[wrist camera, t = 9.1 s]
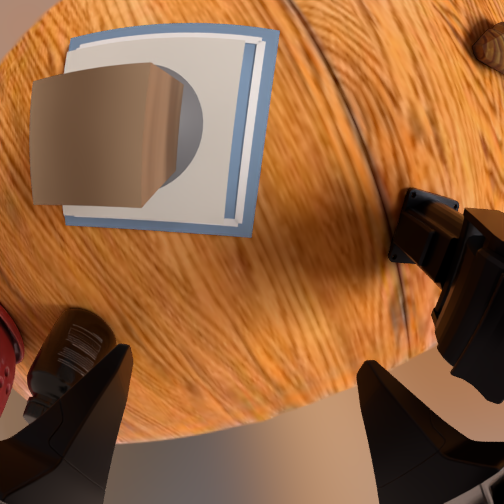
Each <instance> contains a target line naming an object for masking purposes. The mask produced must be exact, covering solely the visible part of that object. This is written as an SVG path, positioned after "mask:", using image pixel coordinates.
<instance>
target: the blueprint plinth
mask: <svg viewBox="0 0 504 504" xmlns="http://www.w3.org/2000/svg"><path fill="white" fill-rule="evenodd" d="M279 33H280V31H278V30H272V29H265V28H258V27H250V26H241V25H229V24H212V23H172V24H154V25H143V26H134V27H126V28H119V29H113V30H107V31H101V32H96V33H92V34H87V35H83V36H78V37H74V38H71V41H70V46H69V51H68V52H67V57H66V63H65V69H64V74H65V73H69V72H74V71H80V70H85V69H91V68H98V67H105V66H113V65H122V64H133V63H147V62H151V63H153V64H154V65H156V66H157V67H159V68H160V69H162V70H163V71H165V72H166V73H168V74H169V75H171V76H172V77H174V78H175V79H177V80H178V81H179V82H181V83H182V84H184V88H183V96H182V105H181V114H180V124H179V135H178V147H177V161H176V171H175V172H174V173H173V174H172V175H171V176H170V177H169V179H168V180H167V181H166V182H165V183H164V184H163V185H162V186H161V187H160V188H159V189H158V190H157V191H156V192H155V194H154V195H153V196H152V197H151V198H150V199H149V200H148V201H147V202H146V204H145V205H144V206H143V207H142V208H128V207H105V206H75V205H62V206H63V214H64V215H65V223H66V225H71V226H89V227H106V228H123V229H138V230H154V231H168V232H183V233H196V234H210V235H223V236H236V237H249V238H251V237H252V230H253V222H254V215H255V208H256V200H257V193H258V186H259V178H260V171H261V164H262V156H263V149H264V142H265V134H266V127H267V120H268V112H269V105H270V98H271V91H272V84H273V76H274V69H275V62H276V55H277V48H278V40H279Z"/></svg>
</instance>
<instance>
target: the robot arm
mask: <svg viewBox="0 0 504 504" xmlns="http://www.w3.org/2000/svg"><path fill="white" fill-rule="evenodd" d="M413 192H414V194H413V196H412V193H413ZM454 205H455V206H454ZM458 208H459V203H458V202H457V201H455V200H453V199H450V198H447V197H443V196H440V195H437V194H433V193H430V192H426V191H423V190H419V189H416V188H409V189H408V191H407V193H406V197H405V201H404V204H403V208H402V211H401V215H400V218H399V222H398V225H397V228H396V231H395V235H394V238H393V241H392V244H391V247H390V250H389V253H388V259H389V260H390V261H391V262H397V263H410V264H417V265H418V266H419V267H420V268H421V269H422V270H423V271H424V272H425V273H426V274H427V275H428V276H429V277H430V278H431V279H432V280H433V281H434V282H435V283H436V285H437V286H438V287H439V288H440V289H441V290H442V291H441V294H440V297H439V299H438V302H437V304H436V307H435V308H434V309H433V311H432V313H431V316H432V319H433V322H434V325H435V335H436V338H437V342H438V346H437V349H438V351H439V352H440V354H441V355H442V357H443V358H444V359H445V360H446V361H447V362H448V363H449V364H450V365H452V366H453V369H452V370H451V372H450V373H451V375H453V376H456V377H459V378H461V379H464V380H465V381H467V382H468V383H470V384H472V385H473V386H474V387H475V388H476V389H477V390H478V391H479V392H480V393H481V394H482V395H483V396H484V397H485V399H486V400H488V401H490V402H493V403H496V404H500V403H502V402H503V400H504V213H503V212H500V211H498V210H488V209H476V208H465V209H464V213H463V214H461V213H459V212H458ZM394 254H395V255H394ZM393 255H394V257H392V256H393ZM132 367H133V357H132V352H131V347H130V346H129V345H127V344H122V343H120V344H118V345H117V346H116V347H114V348H113V349H112V350H111V351H110V352H109V353H108V354H107V355H106V356H105V357H104V358H102V359H101V360H100V361H99V362H98V363H97V364H96V365H95V366H94V367H93V368H92V369H91V370H90V371H88V372H87V373H86V374H85V375H84V376H83V377H82V378H81V379H80V380H79V381H78V382H77V383H76V384H75V385H73V386H72V387H71V388H70V389H69V390H68V391H67V392H66V393H65V394H64V395H63V396H62V397H61V398H60V400H58V401H56V402H55V403H54V404H53V405H52V406H51V407H50V408H49V409H48V410H47V411H46V412H45V413H43V414H42V415H41V416H40V417H38V418H37V419H36V420H34V421H33V422H32V423H30V424H29V425H28V426H26V427H25V428H24V429H22V430H21V431H20V432H18V433H17V434H16V435H14V436H12V437H11V438H9V439H6V440H3V441H0V504H103V501H104V495H105V489H106V484H107V479H108V474H109V470H110V465H111V460H112V456H113V451H114V448H115V443H116V439H117V435H118V432H119V428H120V424H121V420H122V416H123V413H124V409H125V406H126V402H127V397H128V391H129V385H130V379H131V373H132ZM356 378H357V385H358V393H359V400H360V407H361V412H362V417H363V421H364V425H365V430H366V434H367V439H368V444H369V448H370V453H371V458H372V463H373V469H374V474H375V479H376V485H377V491H378V498H379V504H504V442H480V441H473V440H470V439H468V438H467V437H465V436H464V435H463V434H461V433H460V432H458V431H457V430H456V429H454V428H453V427H451V426H450V425H448V424H447V423H446V422H445V421H443V420H442V419H441V418H440V417H439V416H438V415H436V414H435V413H434V412H433V411H432V410H430V408H428V407H427V406H426V405H425V404H424V403H423V402H422V401H421V400H419V399H418V398H417V397H416V396H415V395H413V393H411V392H410V391H409V390H408V389H407V388H406V387H405V386H404V385H402V384H401V383H400V382H399V381H398V380H397V379H396V378H394V377H393V376H392V375H391V374H390V373H389V372H388V371H387V370H385V369H384V368H383V367H382V366H381V365H380V364H379V363H377V362H376V361H375V360H367V361H365V362H364V363H363V365H362V366H361V368H360V369H359V371H358V373H357V377H356Z"/></svg>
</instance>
